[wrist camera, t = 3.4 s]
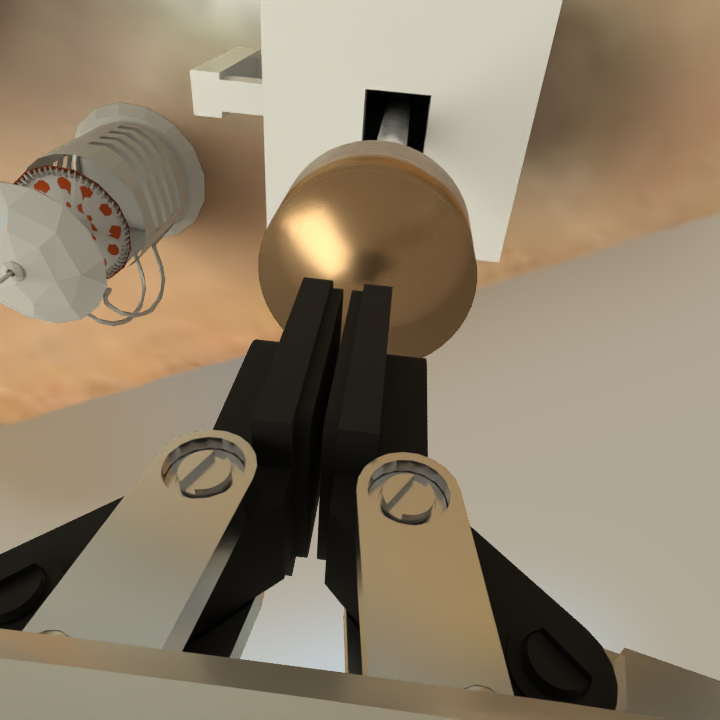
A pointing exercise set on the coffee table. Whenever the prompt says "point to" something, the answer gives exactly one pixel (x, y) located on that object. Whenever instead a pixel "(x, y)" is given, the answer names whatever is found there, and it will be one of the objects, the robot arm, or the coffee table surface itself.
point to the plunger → (377, 236)
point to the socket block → (394, 89)
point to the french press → (95, 213)
